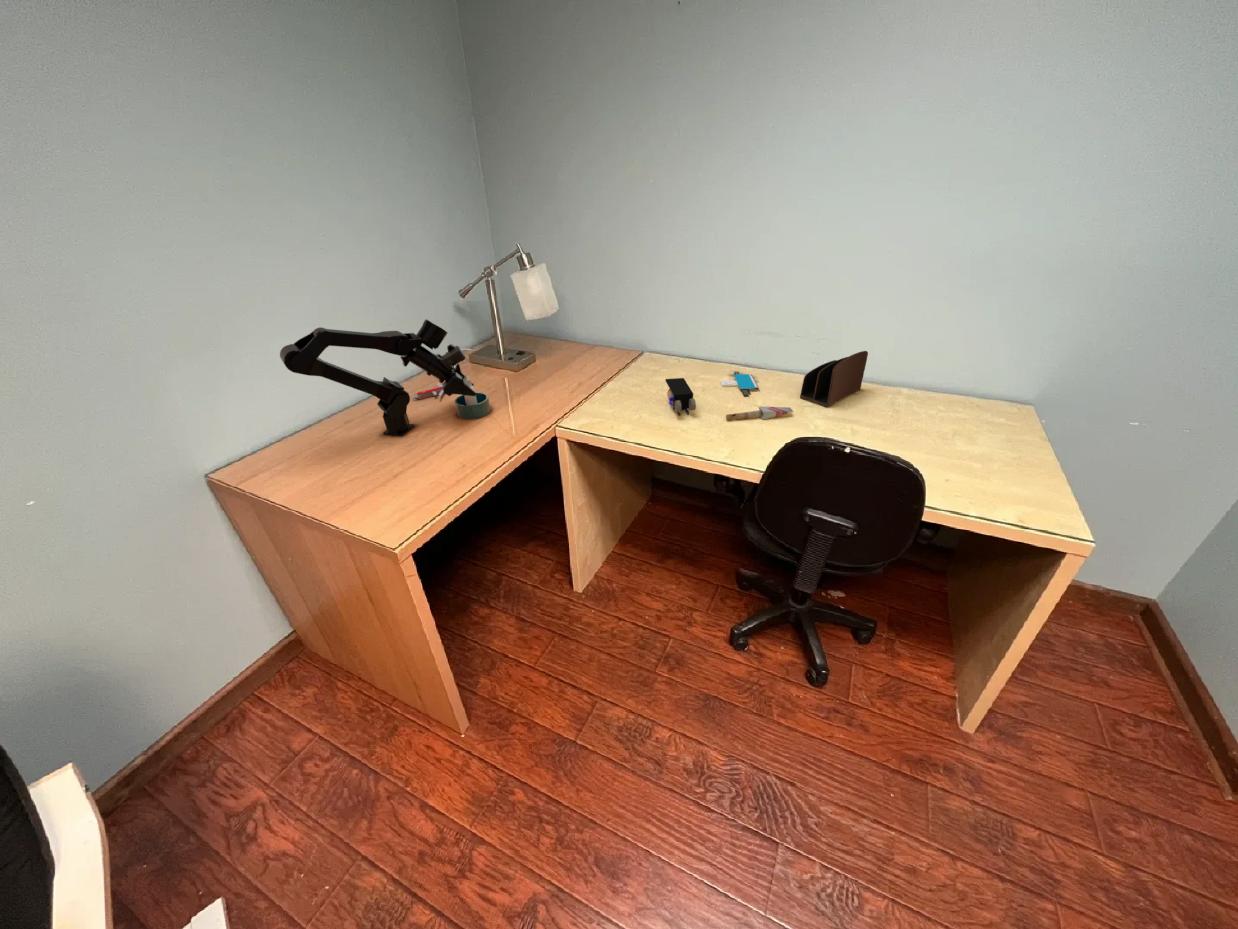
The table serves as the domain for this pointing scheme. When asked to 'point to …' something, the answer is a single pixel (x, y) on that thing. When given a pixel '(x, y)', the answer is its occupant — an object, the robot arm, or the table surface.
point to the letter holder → (834, 380)
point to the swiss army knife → (430, 392)
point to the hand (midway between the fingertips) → (474, 390)
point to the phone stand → (742, 383)
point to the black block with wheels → (680, 395)
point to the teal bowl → (472, 407)
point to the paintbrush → (761, 413)
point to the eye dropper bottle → (468, 399)
